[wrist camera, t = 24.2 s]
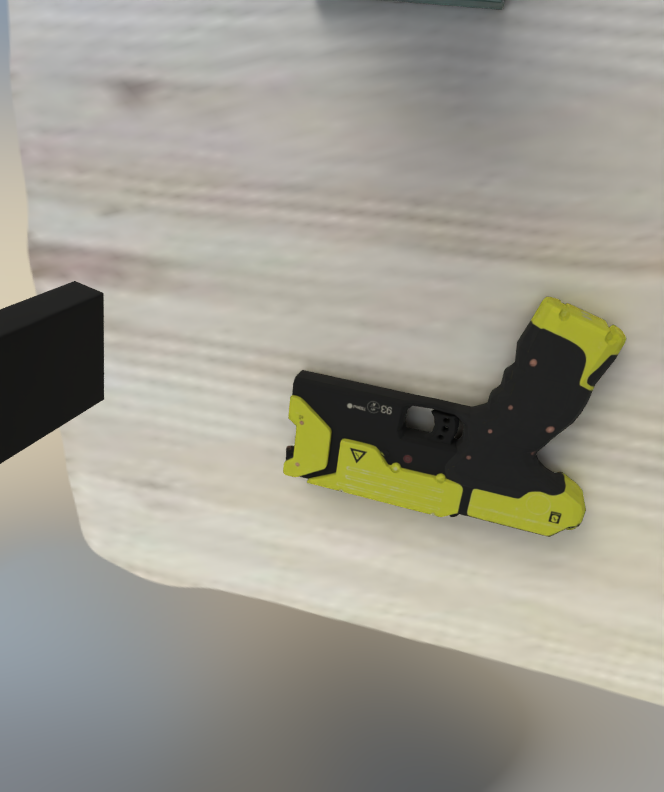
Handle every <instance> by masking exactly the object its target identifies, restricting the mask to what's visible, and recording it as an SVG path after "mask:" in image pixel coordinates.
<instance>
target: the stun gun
mask: <svg viewBox="0 0 664 792" xmlns="http://www.w3.org/2000/svg"><path fill="white" fill-rule="evenodd" d="M625 341H626V337H625V335H624V333H623V331H622V330H621V329H619V328H618V327H616V326H615V325H612V326H610V327H608V325H607V323H606V321H605V320H603V319H601V318H599V317H596V316H594V315H592V314H590V313H588V312H585V311H583V310H581V309H579V308H577V307H575V306H572V305H570V304H568V303H567V304H564V303H561V301H560V300H558V299H556V298H552V297H546V298H545V299H544V300H543V301H542V302H541V304H540V306H539V308H538V309H537V311H536V313H535V315H534V316H533V318H532V319H531V321H530V323H529V324H528V326H527V327H526V329H525V331H524V332H523V334H522V335H521V337H520V338H519V340H518V342H517V349H516V358H515V363H513V364H512V365H510V366H509V367H507V368H506V369H505V371H504V374H503V378H502V382H501V385H500V386H498V387H497V388H495V389H494V390H492V392H491V393H490V396H489V399H488V402H487V403H486V404H482V405H478V406H474V407H470V406H465V405H461V404H456V403H452V402H448V401H444V400H440V399H435V398H430V397H425V396H420V395H415V394H410V393H405V392H401V391H396V390H392V389H387V388H382V387H378V386H373V385H369V384H364V383H359V382H355V381H350V380H346V379H341V378H336V377H332V376H327V375H322V374H318V373H313V372H309V371H304V370H302V371H301V372H300V373H299V374H298V375H297V376H296V377H295V380H294V383H293V394H292V396H291V397H290V406H289V417H288V418H289V419H290V420H291V421H292V422H293V423H294V424H295V425H296V437H295V446H287V448H286V461H285V463H284V468H283V472H284V474H285V475H288V476H292V477H303V478H307V479H308V481H307V483H311V484H314V485H318V486H322V487H326V488H330V489H334V490H338V491H339V490H340V491H341V492H345V493H349V494H353V495H357V496H361V497H365V498H369V499H372V500H376V501H380V502H384V503H388V504H392V505H396V506H400V507H403V508H407V509H411V510H415V511H419V512H423V513H427V514H432V515H436V516H438V517H443V516H448V515H450V517H455V516H457V515H459V514H461V515H465V516H469V517H473V518H477V519H481V520H485V521H489V522H493V523H497V524H501V525H505V526H508V527H512V528H516V529H520V530H524V531H528V532H532V533H536V534H540V535H544V536H548V537H550V536H552V535H554V534H556V533H558V532H560V531H563V530H565V529H567V530H573V529H575V528H576V527H578V526H579V525H580V524H581V522H582V520H583V517H584V514H585V511H586V508H585V503H584V497H583V492H582V489H581V488H580V487H579V486H578V484H576V483H575V482H574V481H573V480H571V479H570V478H569V477H568V476H566V475H565V474H564V473H563V472H557V473H554V472H551V471H550V470H548V469H547V468H545V467H544V466H543V465H542V464H541V463H540V462H539V461H538V458H537V456H536V454H537V451H539V450H540V449H541V448H543V447H544V446H545V445H546V444H547V443H548V442H549V441H550V440H552V439H553V438H554V437H555V436H557V435H558V434H559V433H560V432H562V431H563V430H564V429H566V428H567V427H568V426H570V425H571V424H572V423H573V422H574V421H575V420H576V419H577V417H578V416H579V415H580V414H581V412H582V411H583V409H584V407H585V406H586V404H587V402H588V400H589V398H590V396H591V393H592V391H593V389H594V386H595V384H596V383H597V382H598V380H599V379H600V378H601V377H602V375H603V374H604V373H605V372H606V370H607V369H608V368H609V367H610V365H611V364H612V363H613V362H614V360H615V359H616V357H617V355H618V354H619V352H620V350H621V349H622V347H623V345H624V343H625ZM411 406H418V407H425V408H431V409H434V410H432V414H433V415H434V418H435V425H434V428H433V431H432V432H425V431H421V430H417V429H412V428H408V427H407V425H406V423H405V418H406V414H407V411H408V409H409V408H410V407H411ZM447 418H448V419H447ZM459 419H460V420H461V421H462V422H463V423H464V430H463V435H462V437H461V438H460V439H456V438H454V437H455V435H456V434H457V431H458V427H459ZM445 426H447V428H446V427H445Z"/></svg>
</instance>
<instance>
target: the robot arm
mask: <svg viewBox="0 0 664 792" xmlns="http://www.w3.org/2000/svg"><path fill="white" fill-rule="evenodd" d="M102 400H104V297H103V293H102V292H100V291H97V290H95V289H92V288H90V287H88V286H85V285H83V284H81V283H78V282H76V281H74V282H71V283H68V284H66V285H63V286H61V287H58V288H55V289H53V290H50V291H47V292H45V293H42V294H40V295H37V296H34V297H32V298H29V299H26V300H24V301H21V302H19V303H16V304H13V305H11V306H8V307H5V308H3V309H1V310H0V464H1V463H2V462H4V461H5V460H7V459H9V458H10V457H12V456H13V455H15V454H17V453H18V452H20V451H22V450H23V449H25V448H26V447H28V446H30V445H31V444H33V443H34V442H36V441H38V440H39V439H41V438H42V437H44V436H46V435H47V434H49V433H50V432H52V431H54V430H55V429H57V428H59V427H60V426H62V425H63V424H65V423H67V422H68V421H70V420H72V419H73V418H75V417H76V416H78V415H80V414H81V413H83V412H84V411H86V410H88V409H89V408H91V407H92V406H94V405H96V404H97V403H99V402H100V401H102Z"/></svg>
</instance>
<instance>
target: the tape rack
mask: <svg viewBox="0 0 664 792" xmlns="http://www.w3.org/2000/svg"><path fill="white" fill-rule="evenodd" d="M387 1H400V2H413V3H425V4H438V5H451V6H463V7H476V8H489V9H501V10H502V9H503V6H504V1H505V0H387Z"/></svg>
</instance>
